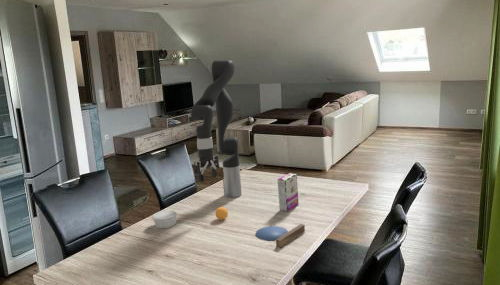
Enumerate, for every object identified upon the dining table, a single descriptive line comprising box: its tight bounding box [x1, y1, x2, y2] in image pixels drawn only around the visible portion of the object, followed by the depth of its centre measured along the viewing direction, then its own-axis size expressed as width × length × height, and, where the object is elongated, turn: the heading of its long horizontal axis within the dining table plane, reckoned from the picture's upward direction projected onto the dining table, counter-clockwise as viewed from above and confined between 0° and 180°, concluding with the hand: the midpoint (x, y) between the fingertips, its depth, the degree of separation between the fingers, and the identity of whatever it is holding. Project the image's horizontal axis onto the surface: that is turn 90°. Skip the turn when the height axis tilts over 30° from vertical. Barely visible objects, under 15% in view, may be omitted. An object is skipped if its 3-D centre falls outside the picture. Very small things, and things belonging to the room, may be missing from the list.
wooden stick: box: [275, 223, 306, 249], centre depth 163 cm, size 2×18×3 cm, turn 140°
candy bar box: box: [277, 172, 300, 212], centre depth 197 cm, size 11×5×16 cm, turn 143°
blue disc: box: [255, 225, 289, 242], centre depth 170 cm, size 14×14×1 cm
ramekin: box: [152, 209, 177, 229], centre depth 186 cm, size 11×11×5 cm
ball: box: [214, 206, 228, 221], centre depth 188 cm, size 6×6×6 cm
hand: (208, 179), depth 191 cm, fingers open, 8 cm apart
